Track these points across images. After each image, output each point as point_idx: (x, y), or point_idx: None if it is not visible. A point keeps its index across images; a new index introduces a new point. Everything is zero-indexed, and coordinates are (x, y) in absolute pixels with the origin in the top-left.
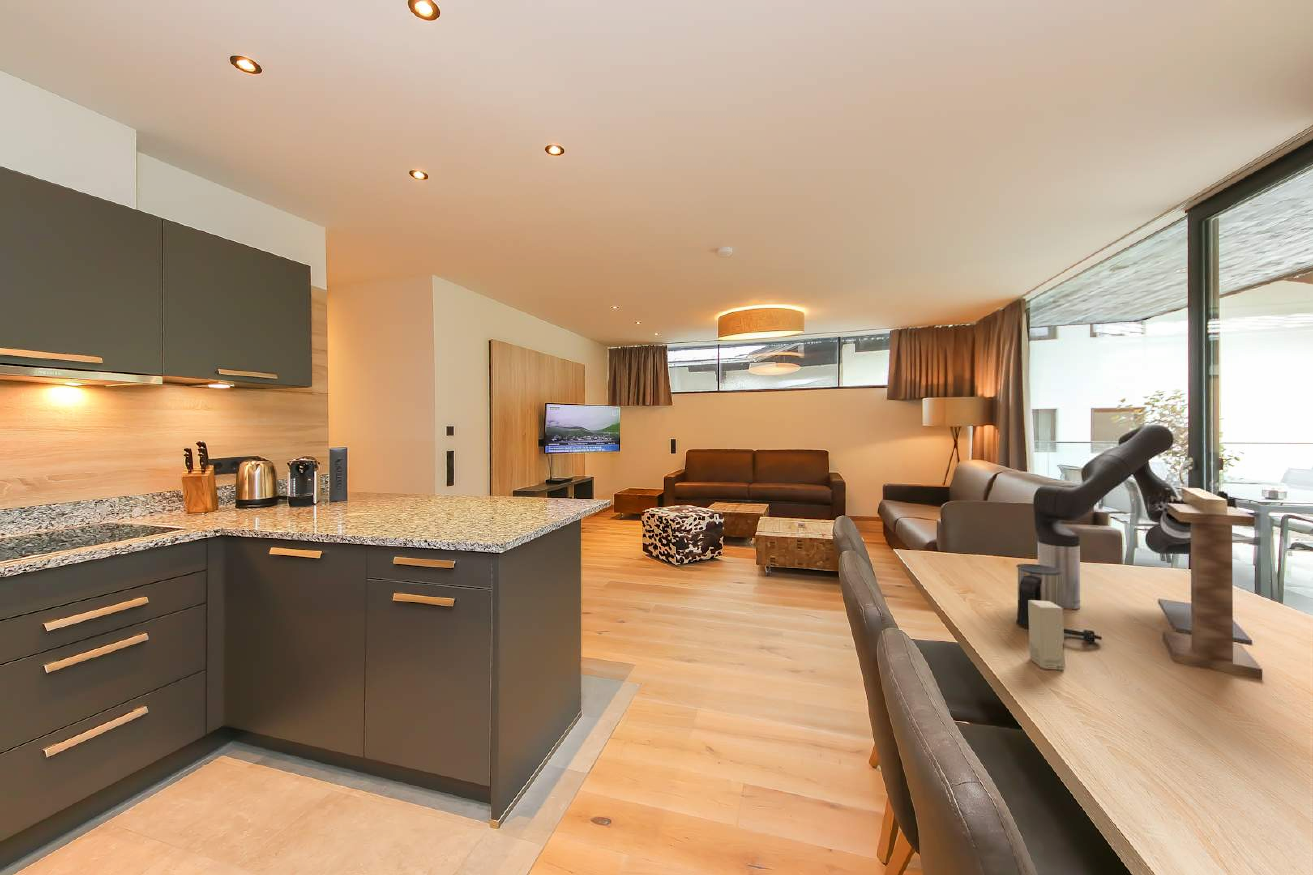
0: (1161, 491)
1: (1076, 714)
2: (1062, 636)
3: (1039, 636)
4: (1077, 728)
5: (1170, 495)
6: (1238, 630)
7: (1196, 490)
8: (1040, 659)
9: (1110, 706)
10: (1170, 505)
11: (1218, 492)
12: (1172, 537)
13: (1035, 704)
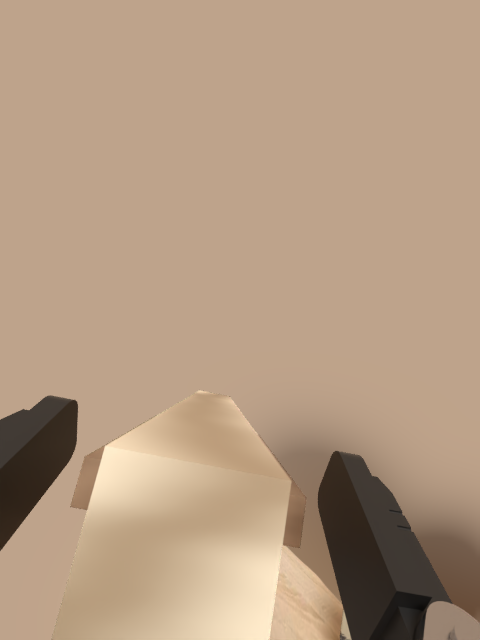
0: (389, 496)
1: (290, 584)
2: (342, 620)
3: None
4: (285, 568)
5: (319, 492)
6: None
7: (206, 416)
8: None
9: (274, 607)
10: (285, 470)
11: (53, 421)
12: None
13: (317, 588)
